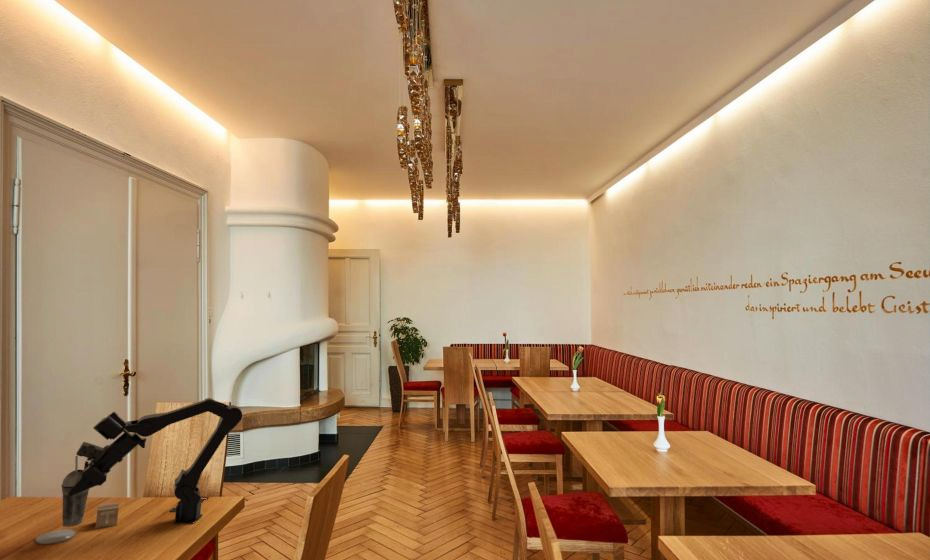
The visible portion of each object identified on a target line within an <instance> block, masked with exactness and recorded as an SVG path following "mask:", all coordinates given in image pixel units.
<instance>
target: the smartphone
mask: <svg viewBox="0 0 930 560" xmlns="http://www.w3.org/2000/svg"><path fill="white" fill-rule="evenodd" d="M201 498H209V499H210V496H206V495H205V496H204V495H203V496H202V495H201ZM204 500H206V499H202V501H201V503H202V502H203V501H204ZM206 501H207V500H206ZM203 503H204V502H203ZM203 503H202V504H203ZM176 506H178V504H176ZM176 506H174V507H173V508H171V509H170V510H169V513H176Z"/></svg>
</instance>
